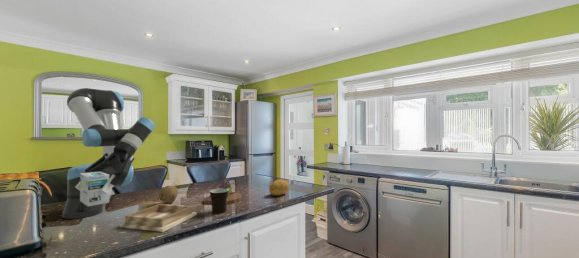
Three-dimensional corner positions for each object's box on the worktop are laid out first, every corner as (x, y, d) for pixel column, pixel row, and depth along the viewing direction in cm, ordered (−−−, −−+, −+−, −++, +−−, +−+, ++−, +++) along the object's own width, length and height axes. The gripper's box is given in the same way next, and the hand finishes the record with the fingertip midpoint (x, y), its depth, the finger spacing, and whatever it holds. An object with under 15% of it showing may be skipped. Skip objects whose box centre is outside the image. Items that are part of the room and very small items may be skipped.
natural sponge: (158, 207, 131) (158, 187, 131) (159, 203, 139) (159, 184, 140) (177, 205, 135) (177, 186, 135) (178, 201, 143) (177, 183, 143)
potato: (265, 179, 154) (273, 180, 147) (282, 178, 162) (291, 178, 155) (265, 195, 153) (274, 197, 146) (283, 193, 161) (292, 194, 154)
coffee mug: (223, 214, 118) (223, 193, 118) (206, 213, 119) (206, 192, 119) (234, 207, 129) (233, 187, 129) (218, 206, 131) (218, 187, 131)
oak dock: (120, 227, 103) (120, 216, 103) (159, 211, 124) (159, 202, 124) (162, 231, 98) (162, 220, 98) (196, 214, 118) (196, 205, 118)
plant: (245, 196, 153) (245, 177, 153) (234, 205, 134) (234, 184, 134) (214, 195, 156) (214, 177, 156) (198, 204, 136) (198, 183, 136)
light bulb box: (109, 202, 95) (110, 174, 95) (87, 207, 90) (87, 176, 89) (100, 197, 101) (100, 170, 101) (78, 201, 96) (79, 172, 96)
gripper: (155, 153, 108) (123, 198, 93) (111, 151, 115) (74, 193, 100) (145, 141, 103) (109, 187, 88) (100, 140, 110) (59, 182, 95)
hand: (90, 190), depth 94 cm, fingers closed on light bulb box, 12 cm apart
